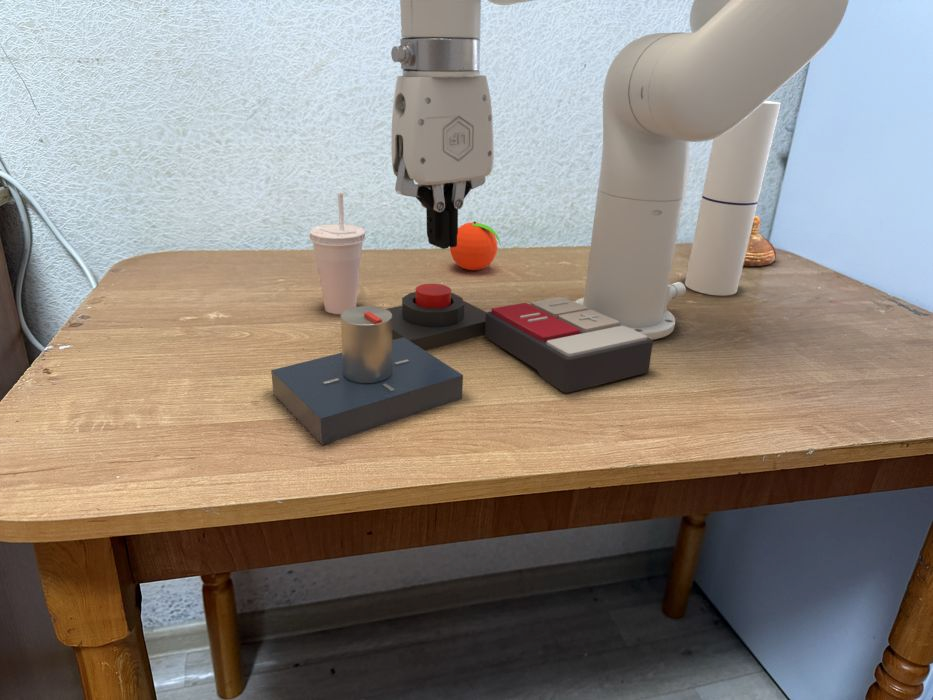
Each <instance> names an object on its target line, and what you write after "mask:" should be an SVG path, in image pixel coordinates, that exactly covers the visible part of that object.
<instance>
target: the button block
mask: <svg viewBox="0 0 933 700" xmlns="http://www.w3.org/2000/svg"><path fill="white" fill-rule="evenodd" d="M385 309H386V310H388V311H390V312H391V314H392V340H395V339H399V338H403V337H404V338H406V339H408V340H409V341H411V342H412V343H414V344H415V345H417V346H419V347H420V348H422V349H423V350H425V351H429V350H432V349H436V348H440V347H443V346H448V345H451V344H455V343H459V342H462V341H466V340H470V339H473V338H477V337H482V336H485V320H486V313H487V312H488V311H485V310H484V309H481V308H480V307H477V306H476V305H473V304H471V303H469V302H467V301H466V300H464V299H463V297H462V296H460V295H457V294H456V293H453V292H451V305H450V306H448V307H443V308H426V307H421V306H418V305H417V304H415V291H414V292H409V293H407V294H406V295H404V296H402V297H401V305H398V306H393V307H388V308H385Z"/></svg>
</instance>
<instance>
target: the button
mask: <svg viewBox="0 0 933 700" xmlns="http://www.w3.org/2000/svg"><path fill="white" fill-rule="evenodd" d="M414 292H415V304H417V305H418V306H421V307H426V308H443V307H448V306H450V305H451V293H452V288H451V287H449V286H448V285H445V284H443V283H423V284H419V285H417V286H416V287H415V291H414Z"/></svg>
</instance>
